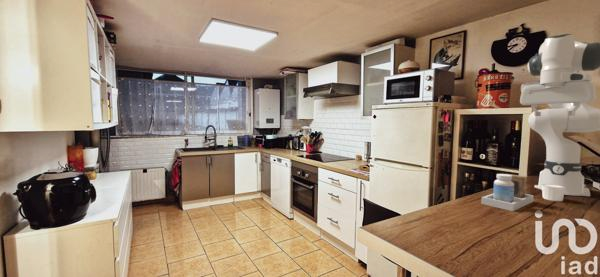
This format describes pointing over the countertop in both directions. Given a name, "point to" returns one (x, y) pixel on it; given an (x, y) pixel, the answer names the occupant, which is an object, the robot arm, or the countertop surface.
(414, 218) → the countertop surface
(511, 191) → the pill bottle
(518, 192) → the brown wooden block
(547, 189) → the white ramekin
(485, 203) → the grey compartment tray
